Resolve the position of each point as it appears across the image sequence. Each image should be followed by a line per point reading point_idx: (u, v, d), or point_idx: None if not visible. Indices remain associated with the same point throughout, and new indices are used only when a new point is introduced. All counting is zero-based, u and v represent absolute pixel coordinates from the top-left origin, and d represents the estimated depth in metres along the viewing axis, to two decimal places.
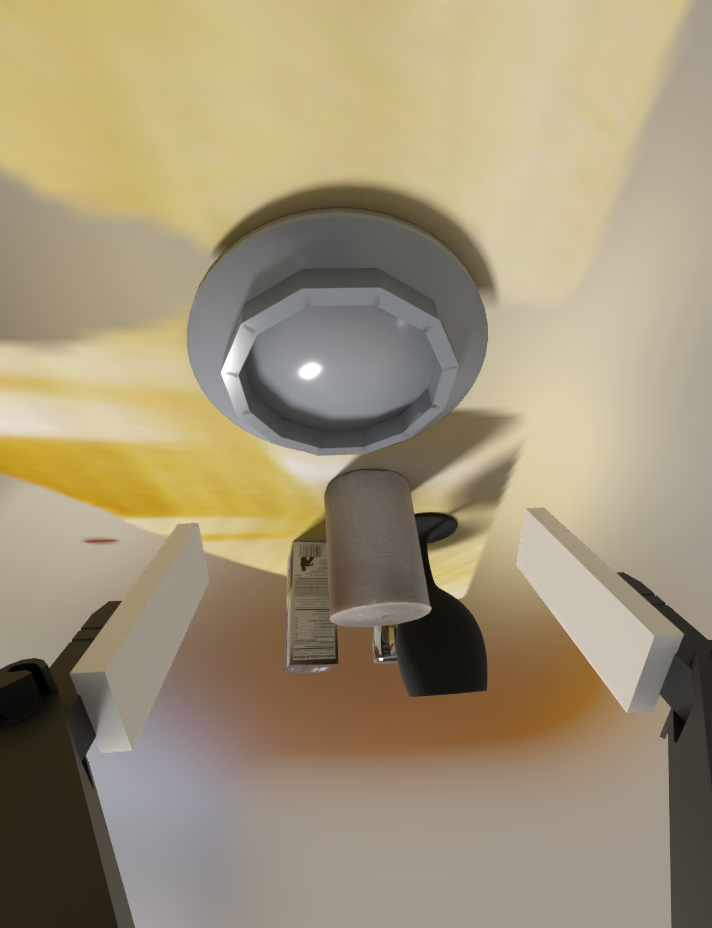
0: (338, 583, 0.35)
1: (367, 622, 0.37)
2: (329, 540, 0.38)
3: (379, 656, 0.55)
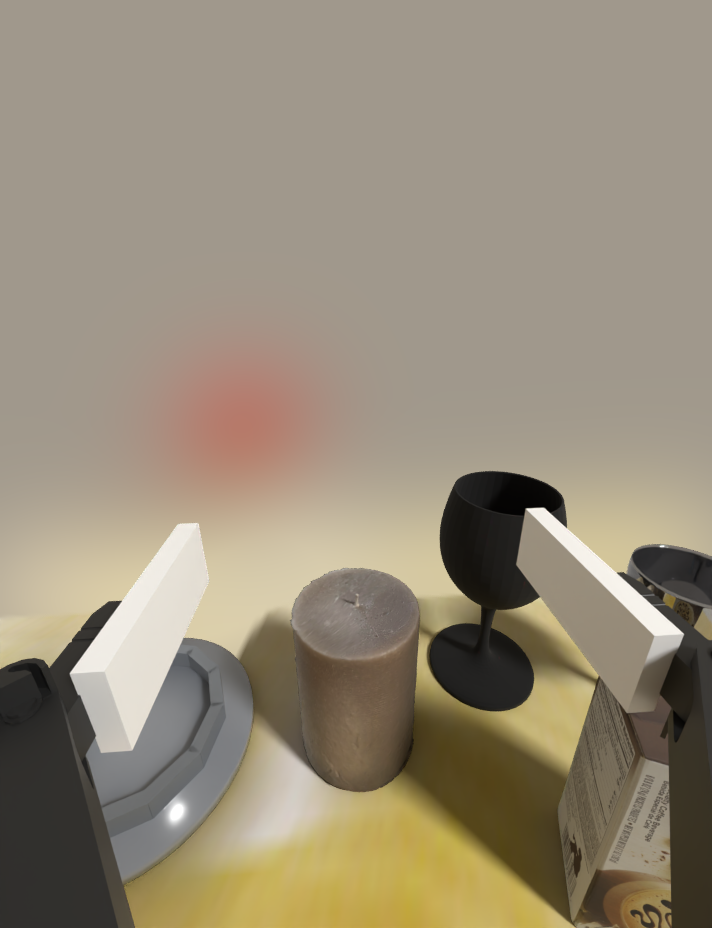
0: (308, 670, 0.26)
1: (380, 618, 0.27)
2: (326, 729, 0.27)
3: (687, 604, 0.27)
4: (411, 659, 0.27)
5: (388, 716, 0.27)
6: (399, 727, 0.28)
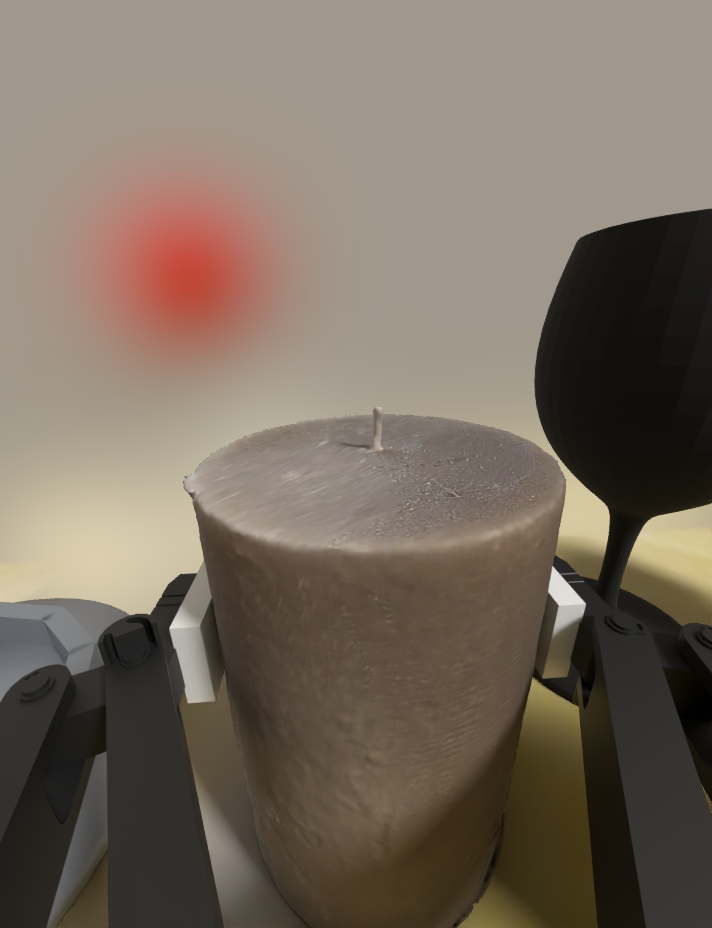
0: (230, 617, 0.08)
1: (448, 466, 0.09)
2: (291, 796, 0.09)
3: None
4: (548, 582, 0.09)
5: (481, 759, 0.09)
6: (500, 783, 0.10)
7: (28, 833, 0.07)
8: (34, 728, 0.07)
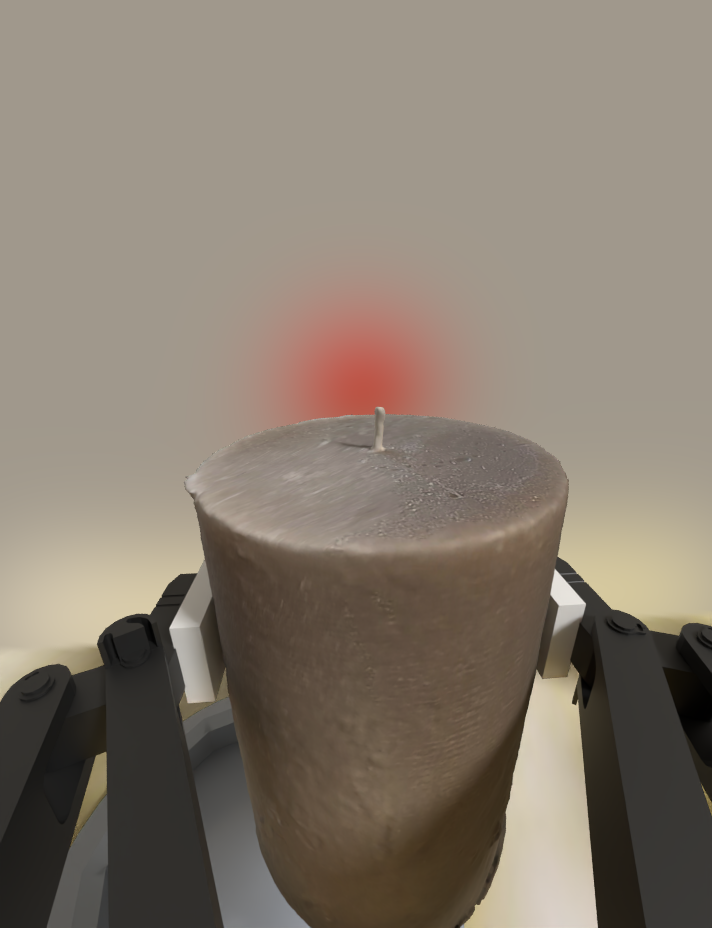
0: (231, 617, 0.08)
1: (450, 466, 0.09)
2: (292, 798, 0.09)
3: None
4: (551, 583, 0.09)
5: (483, 760, 0.09)
6: (502, 785, 0.10)
7: (28, 833, 0.07)
8: (34, 728, 0.07)
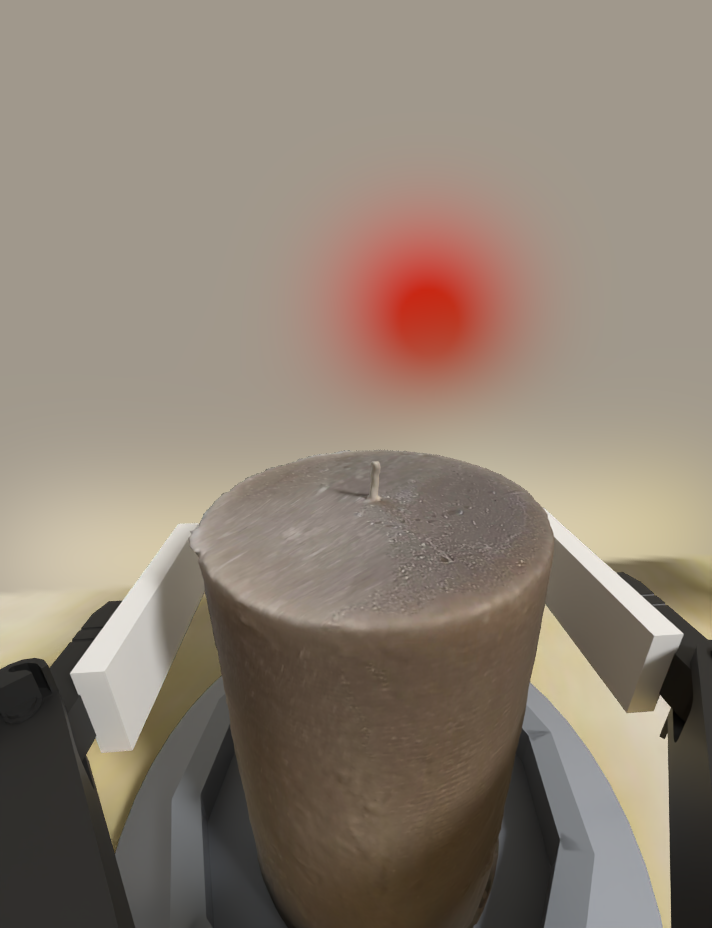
0: (234, 672, 0.09)
1: (443, 521, 0.10)
2: (293, 838, 0.10)
3: None
4: (538, 635, 0.09)
5: (474, 804, 0.09)
6: (493, 820, 0.11)
7: None
8: None
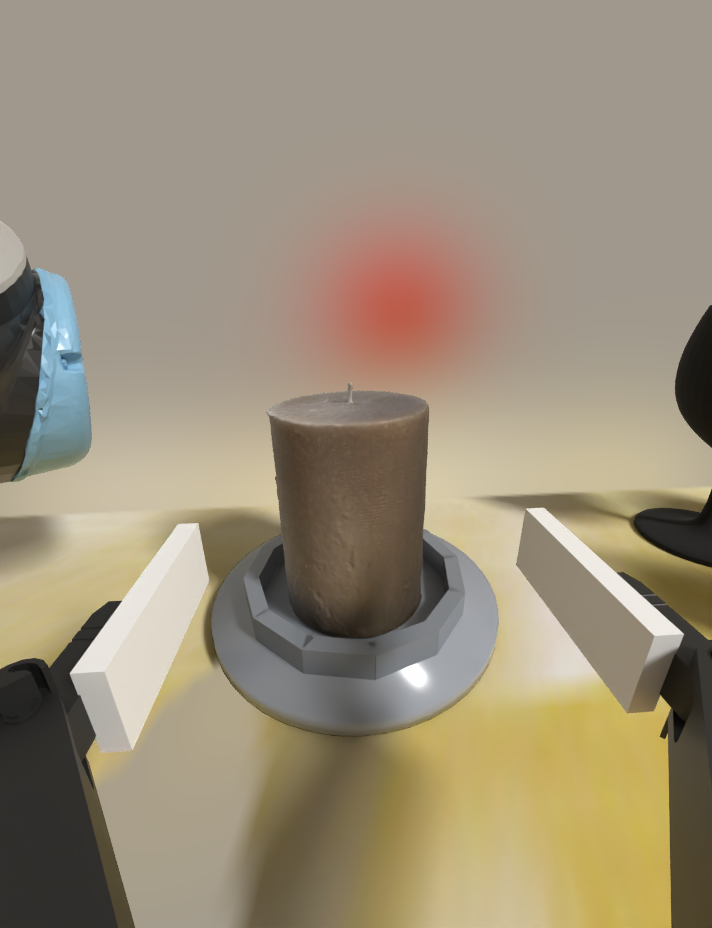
0: (289, 464, 0.21)
1: (379, 407, 0.22)
2: (312, 546, 0.22)
3: None
4: (419, 454, 0.21)
5: (390, 525, 0.21)
6: (405, 551, 0.23)
7: None
8: None
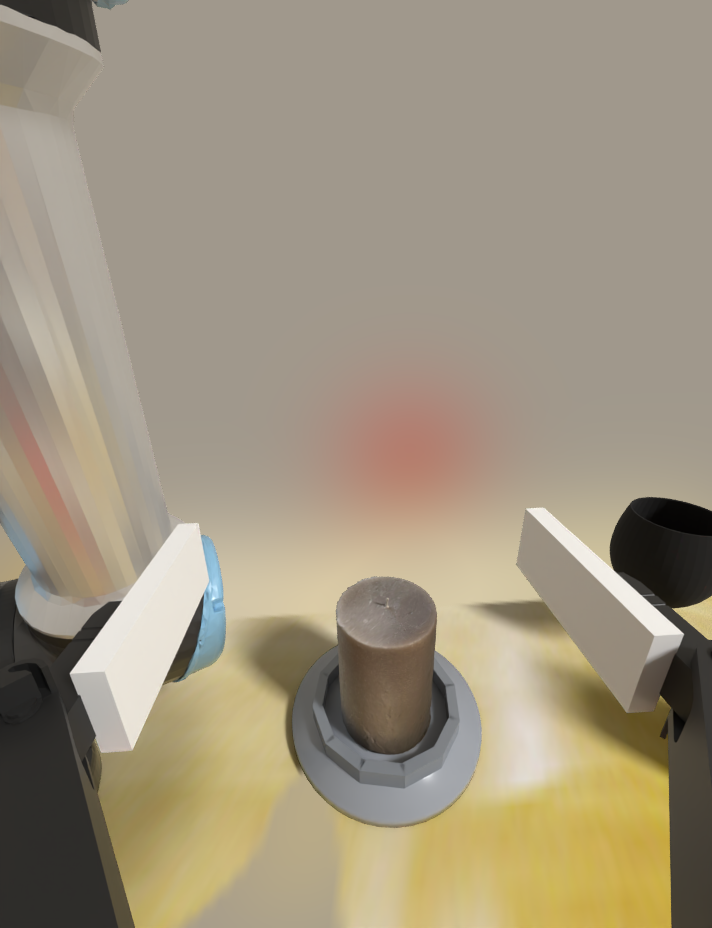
0: (352, 658, 0.34)
1: (406, 616, 0.35)
2: (364, 703, 0.35)
3: None
4: (431, 648, 0.34)
5: (413, 693, 0.34)
6: (421, 702, 0.36)
7: None
8: None
